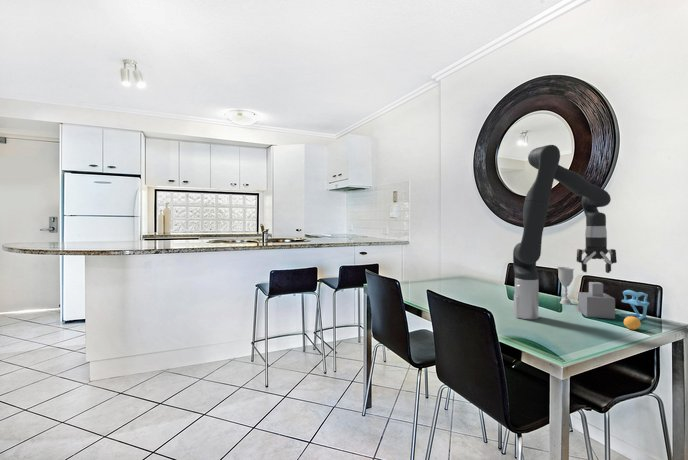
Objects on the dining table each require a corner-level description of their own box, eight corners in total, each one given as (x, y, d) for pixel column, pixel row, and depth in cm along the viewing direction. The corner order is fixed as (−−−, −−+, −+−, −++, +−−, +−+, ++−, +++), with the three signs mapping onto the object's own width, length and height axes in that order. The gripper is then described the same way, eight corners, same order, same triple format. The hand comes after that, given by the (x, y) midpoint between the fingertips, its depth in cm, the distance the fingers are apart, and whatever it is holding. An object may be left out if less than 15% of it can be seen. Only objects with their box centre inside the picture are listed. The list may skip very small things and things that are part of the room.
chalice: (574, 302, 167) (574, 267, 167) (574, 305, 161) (575, 269, 161) (557, 300, 171) (557, 266, 171) (557, 303, 165) (557, 268, 165)
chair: (652, 319, 138) (652, 291, 138) (637, 321, 136) (637, 292, 136) (632, 314, 146) (632, 287, 145) (618, 315, 144) (618, 288, 144)
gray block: (587, 316, 143) (587, 284, 143) (578, 310, 153) (578, 280, 152) (614, 318, 140) (615, 285, 140) (604, 312, 150) (604, 281, 149)
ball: (627, 330, 125) (627, 317, 125) (621, 326, 130) (621, 314, 130) (643, 331, 124) (643, 318, 123) (636, 327, 128) (636, 315, 128)
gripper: (580, 236, 144) (580, 273, 144) (619, 236, 139) (619, 274, 140) (574, 235, 151) (574, 270, 151) (611, 235, 147) (611, 271, 147)
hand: (596, 272), depth 146 cm, fingers open, 8 cm apart
